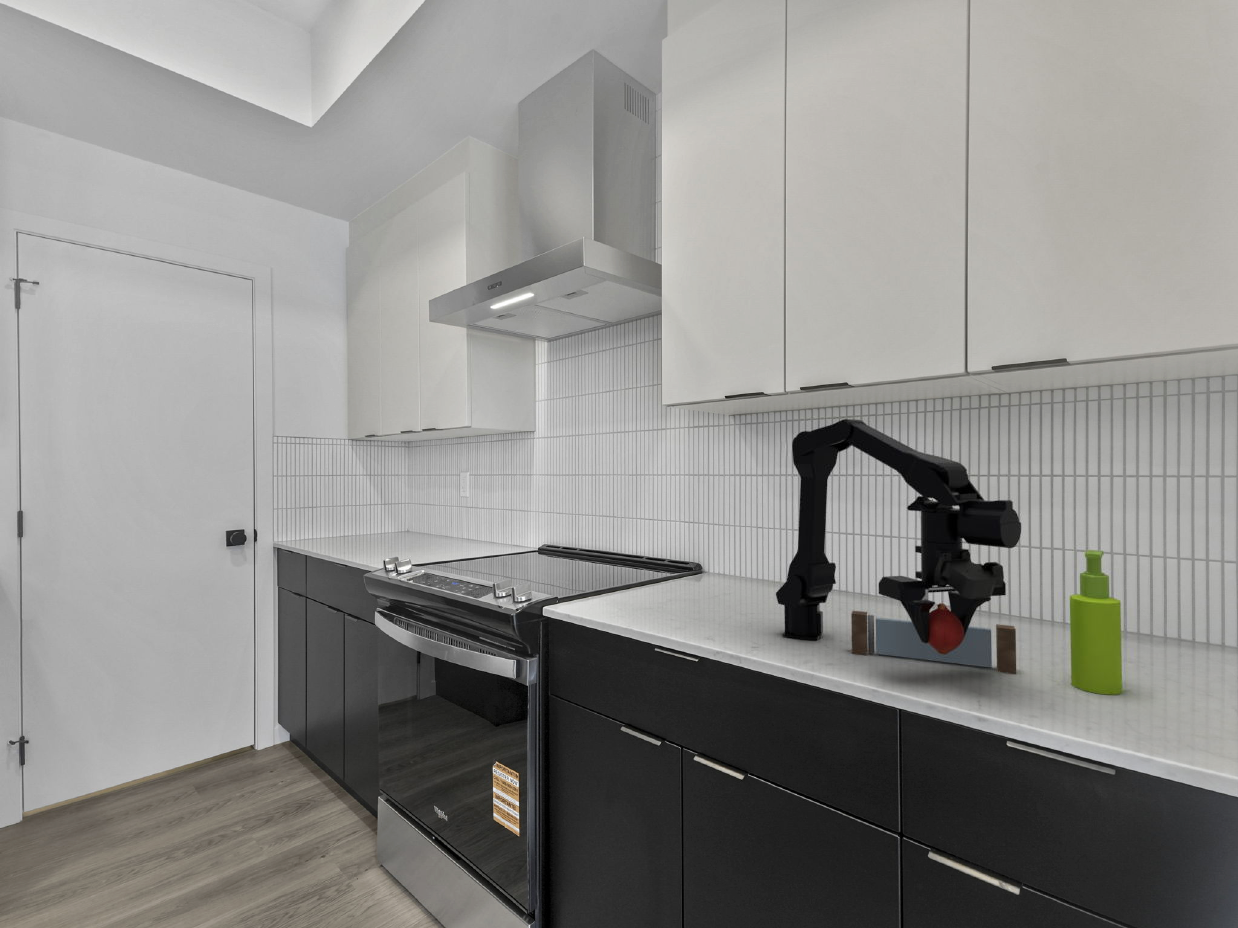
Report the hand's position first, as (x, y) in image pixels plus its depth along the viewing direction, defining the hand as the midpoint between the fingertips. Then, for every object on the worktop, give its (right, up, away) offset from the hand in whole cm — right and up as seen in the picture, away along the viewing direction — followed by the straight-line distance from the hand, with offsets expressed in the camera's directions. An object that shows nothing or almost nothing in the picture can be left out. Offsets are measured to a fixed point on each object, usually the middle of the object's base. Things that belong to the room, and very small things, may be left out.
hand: (942, 641), depth 94 cm
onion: (0, -2, 0) cm, 2 cm away
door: (+2, -5, +8) cm, 10 cm away
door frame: (+2, -6, +8) cm, 10 cm away
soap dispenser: (+20, -6, -5) cm, 22 cm away
